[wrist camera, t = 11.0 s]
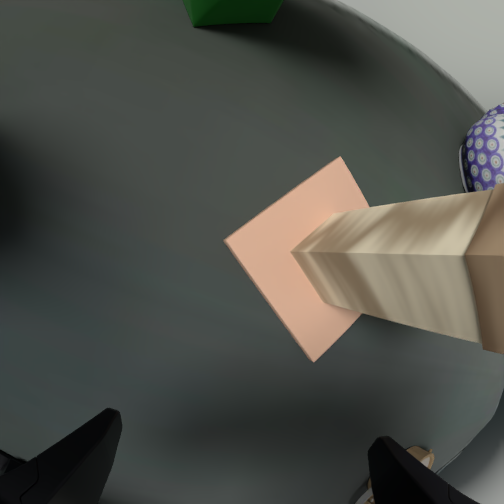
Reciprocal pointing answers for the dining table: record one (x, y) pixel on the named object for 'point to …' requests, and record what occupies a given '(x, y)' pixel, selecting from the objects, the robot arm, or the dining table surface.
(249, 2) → the milk carton
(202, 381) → the dining table surface
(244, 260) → the terracotta tile
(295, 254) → the ash post
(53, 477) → the robot arm
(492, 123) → the teapot
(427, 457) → the alarm clock
